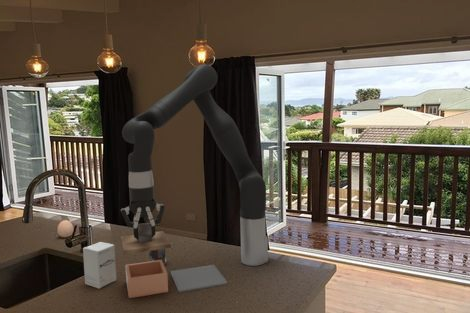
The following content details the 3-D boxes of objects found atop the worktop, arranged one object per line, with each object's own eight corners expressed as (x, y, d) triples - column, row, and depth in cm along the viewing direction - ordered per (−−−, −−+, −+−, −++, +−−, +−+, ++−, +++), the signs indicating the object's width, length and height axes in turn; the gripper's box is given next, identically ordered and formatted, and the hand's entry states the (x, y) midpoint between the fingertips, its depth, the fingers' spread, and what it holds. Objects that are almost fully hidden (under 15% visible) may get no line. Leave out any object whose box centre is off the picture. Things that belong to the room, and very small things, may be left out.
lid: (163, 234, 134) (162, 216, 134) (170, 247, 121) (169, 228, 121) (121, 240, 130) (119, 221, 129) (123, 254, 117) (122, 234, 116)
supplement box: (99, 289, 127) (96, 251, 125) (84, 284, 131) (81, 247, 129) (117, 280, 133) (115, 244, 131) (102, 275, 137) (100, 240, 135)
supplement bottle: (169, 263, 147) (168, 233, 146) (159, 269, 142) (158, 238, 140) (156, 260, 150) (154, 231, 148) (146, 266, 144) (144, 236, 143)
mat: (214, 266, 143) (214, 264, 143) (227, 284, 128) (227, 282, 128) (170, 272, 138) (170, 271, 138) (178, 292, 123) (178, 291, 123)
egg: (72, 238, 177) (71, 221, 176) (56, 240, 176) (55, 222, 175) (74, 234, 183) (73, 217, 182) (59, 235, 182) (58, 218, 181)
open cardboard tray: (162, 276, 135) (161, 259, 134) (168, 291, 124) (167, 273, 123) (126, 282, 131) (125, 264, 131) (128, 298, 120) (127, 279, 119)
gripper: (162, 180, 129) (165, 231, 131) (117, 184, 124) (120, 237, 127) (166, 184, 122) (169, 238, 124) (118, 189, 117) (122, 244, 120)
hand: (144, 237), depth 125 cm, fingers closed on lid, 4 cm apart
